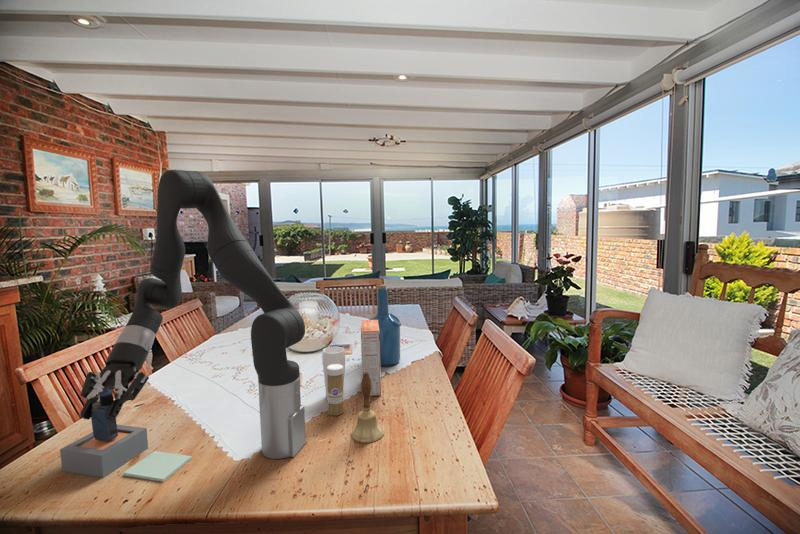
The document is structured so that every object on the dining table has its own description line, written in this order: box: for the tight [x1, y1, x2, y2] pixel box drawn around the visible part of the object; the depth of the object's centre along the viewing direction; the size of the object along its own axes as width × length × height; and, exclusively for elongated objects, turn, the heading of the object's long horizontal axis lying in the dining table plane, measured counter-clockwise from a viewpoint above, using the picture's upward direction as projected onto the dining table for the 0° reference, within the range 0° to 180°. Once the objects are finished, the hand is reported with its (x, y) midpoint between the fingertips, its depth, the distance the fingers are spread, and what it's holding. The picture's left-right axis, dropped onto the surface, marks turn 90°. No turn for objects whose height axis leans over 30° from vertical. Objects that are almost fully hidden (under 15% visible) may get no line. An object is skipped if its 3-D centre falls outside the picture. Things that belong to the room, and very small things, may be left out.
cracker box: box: [360, 319, 382, 397], centre depth 123 cm, size 14×6×21 cm, turn 5°
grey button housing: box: [59, 424, 149, 478], centre depth 86 cm, size 11×11×5 cm
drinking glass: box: [321, 346, 346, 399], centre depth 116 cm, size 7×7×15 cm
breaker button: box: [79, 432, 130, 450], centre depth 86 cm, size 7×7×3 cm
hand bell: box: [350, 372, 385, 444], centre depth 96 cm, size 8×8×16 cm
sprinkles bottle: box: [327, 364, 345, 416], centre depth 107 cm, size 5×5×13 cm
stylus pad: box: [123, 450, 193, 483], centre depth 84 cm, size 10×8×1 cm
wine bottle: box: [368, 284, 402, 367], centre depth 146 cm, size 14×13×30 cm
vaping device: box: [90, 386, 118, 441], centre depth 86 cm, size 3×5×12 cm, turn 78°
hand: (97, 418), depth 84 cm, fingers closed on vaping device, 5 cm apart
